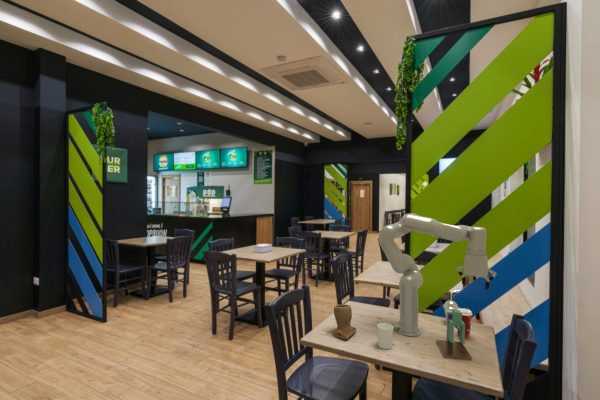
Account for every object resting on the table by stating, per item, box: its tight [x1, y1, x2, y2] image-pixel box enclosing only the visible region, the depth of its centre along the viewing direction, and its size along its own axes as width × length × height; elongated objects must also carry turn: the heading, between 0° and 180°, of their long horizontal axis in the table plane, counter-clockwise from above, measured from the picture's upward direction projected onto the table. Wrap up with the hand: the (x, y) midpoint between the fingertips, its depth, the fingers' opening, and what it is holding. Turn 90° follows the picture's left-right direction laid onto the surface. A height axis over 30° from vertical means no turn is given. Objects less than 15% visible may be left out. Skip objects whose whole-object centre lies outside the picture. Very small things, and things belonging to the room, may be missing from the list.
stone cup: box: [332, 303, 357, 340], centre depth 173 cm, size 15×12×15 cm
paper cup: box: [456, 307, 473, 340], centre depth 172 cm, size 8×8×14 cm
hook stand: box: [435, 312, 473, 361], centre depth 155 cm, size 12×17×16 cm
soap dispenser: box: [442, 289, 461, 325], centre depth 188 cm, size 8×9×20 cm
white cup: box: [376, 322, 394, 350], centre depth 160 cm, size 8×8×10 cm
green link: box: [448, 309, 466, 345], centre depth 151 cm, size 6×4×14 cm, turn 80°
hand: (475, 287), depth 158 cm, fingers open, 9 cm apart
